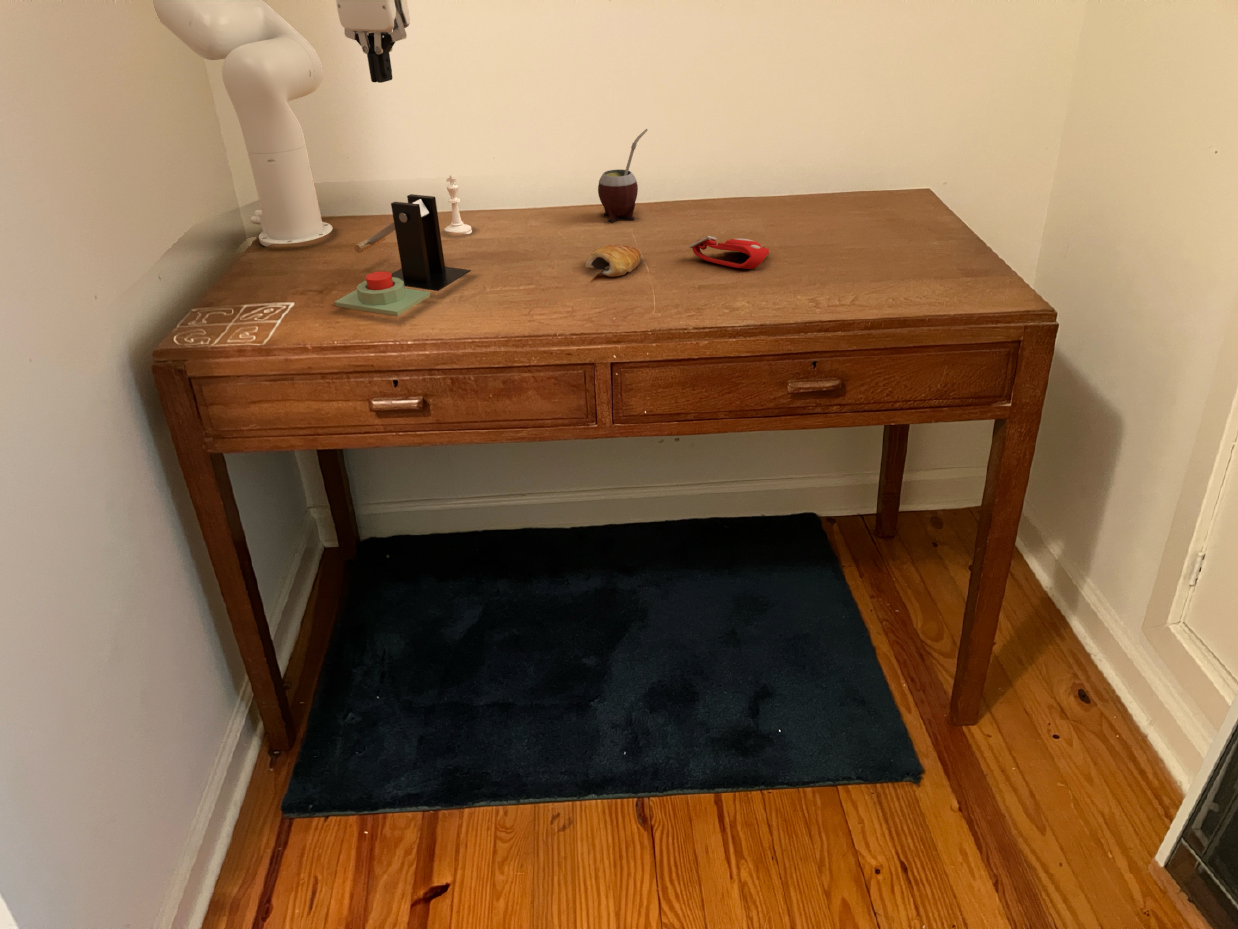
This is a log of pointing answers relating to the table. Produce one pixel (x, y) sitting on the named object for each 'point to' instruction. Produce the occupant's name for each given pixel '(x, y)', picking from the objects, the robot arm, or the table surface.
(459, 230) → the chess piece
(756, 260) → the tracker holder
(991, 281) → the table surface
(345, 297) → the button box
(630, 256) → the pastry
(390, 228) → the lever
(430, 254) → the bracket
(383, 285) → the button
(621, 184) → the mate gourd
